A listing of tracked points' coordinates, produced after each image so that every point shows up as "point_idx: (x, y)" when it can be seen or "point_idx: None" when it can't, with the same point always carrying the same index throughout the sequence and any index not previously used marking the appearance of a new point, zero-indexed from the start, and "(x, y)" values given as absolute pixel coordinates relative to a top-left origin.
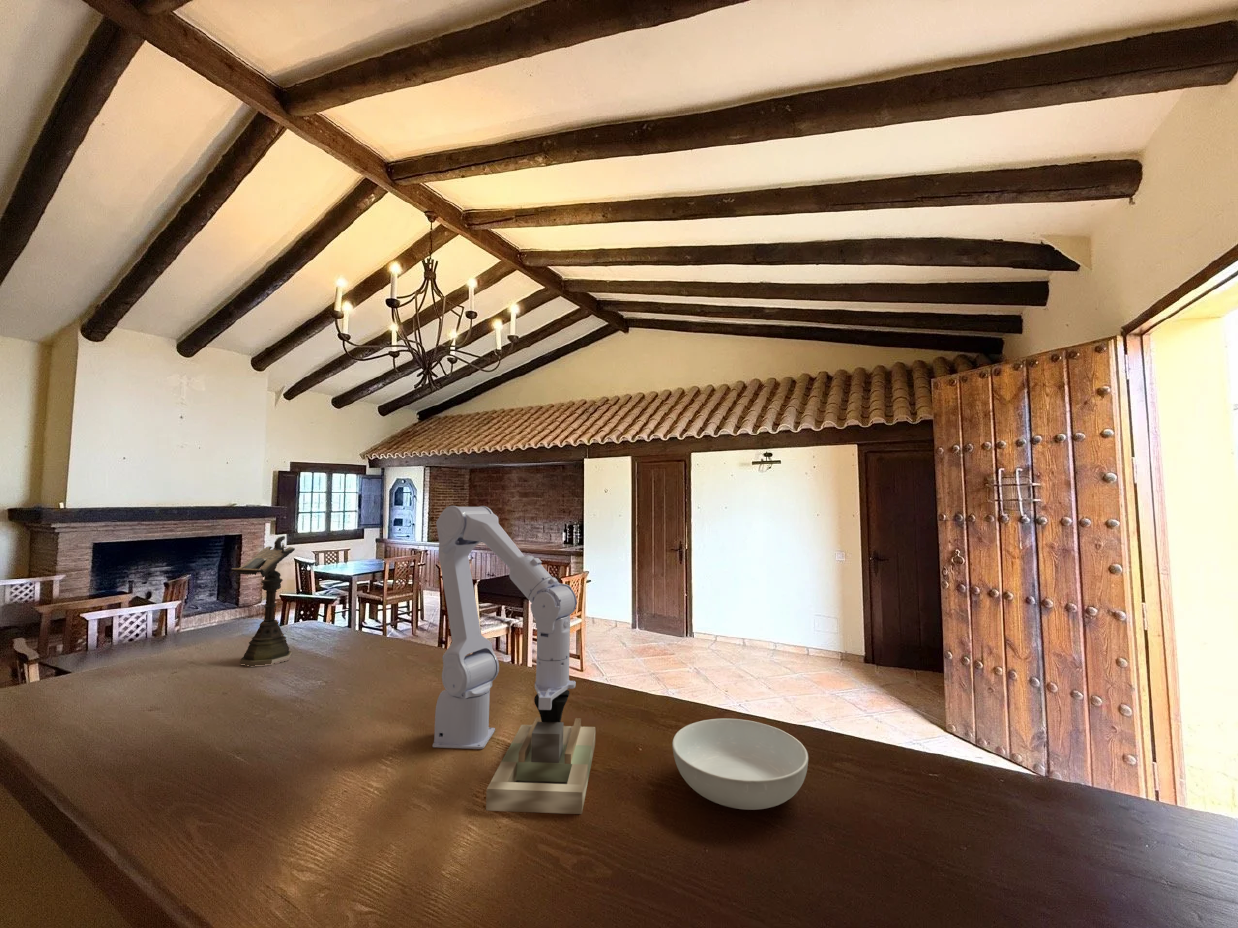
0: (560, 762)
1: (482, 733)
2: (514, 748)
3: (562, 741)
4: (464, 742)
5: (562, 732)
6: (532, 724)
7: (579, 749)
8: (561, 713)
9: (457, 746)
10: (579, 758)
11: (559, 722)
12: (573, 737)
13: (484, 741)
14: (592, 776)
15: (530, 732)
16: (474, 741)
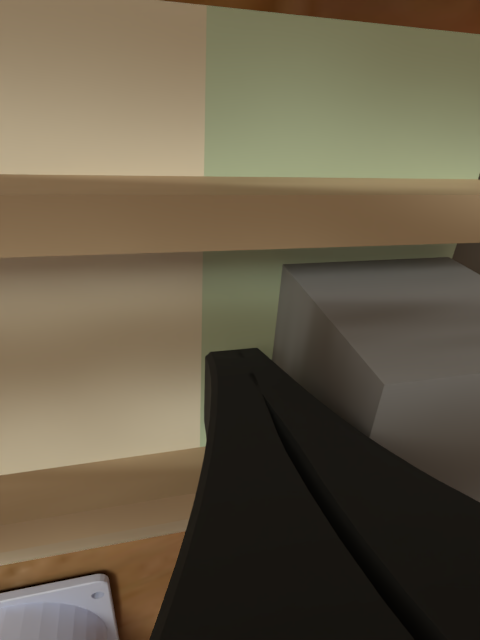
0: (443, 248)
1: (49, 637)
2: None
3: (348, 294)
4: (105, 635)
5: (401, 334)
6: (41, 543)
7: (281, 133)
8: (438, 485)
9: (116, 632)
10: (422, 119)
11: (378, 418)
12: (246, 215)
13: (56, 595)
14: (352, 9)
15: (175, 511)
16: (87, 619)
